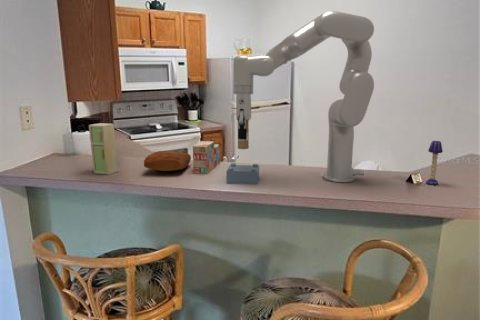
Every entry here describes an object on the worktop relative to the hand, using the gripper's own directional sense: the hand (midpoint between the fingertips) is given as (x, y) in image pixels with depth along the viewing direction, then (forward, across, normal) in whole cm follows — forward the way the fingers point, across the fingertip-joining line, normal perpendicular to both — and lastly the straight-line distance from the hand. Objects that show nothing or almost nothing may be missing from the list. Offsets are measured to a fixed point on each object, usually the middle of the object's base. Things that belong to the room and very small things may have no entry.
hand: (243, 137), depth 136 cm
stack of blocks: (+18, +18, +18) cm, 31 cm away
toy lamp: (+17, +3, -72) cm, 74 cm away
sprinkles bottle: (+5, 0, 0) cm, 5 cm away
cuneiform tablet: (+18, +12, +35) cm, 41 cm away
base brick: (+17, 0, 0) cm, 17 cm away
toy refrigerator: (+18, +5, +61) cm, 64 cm away
